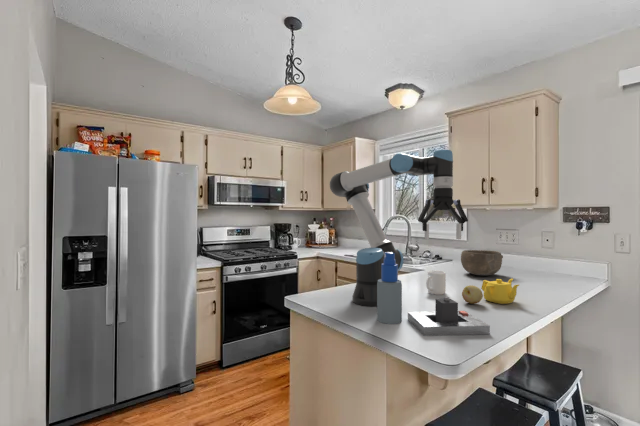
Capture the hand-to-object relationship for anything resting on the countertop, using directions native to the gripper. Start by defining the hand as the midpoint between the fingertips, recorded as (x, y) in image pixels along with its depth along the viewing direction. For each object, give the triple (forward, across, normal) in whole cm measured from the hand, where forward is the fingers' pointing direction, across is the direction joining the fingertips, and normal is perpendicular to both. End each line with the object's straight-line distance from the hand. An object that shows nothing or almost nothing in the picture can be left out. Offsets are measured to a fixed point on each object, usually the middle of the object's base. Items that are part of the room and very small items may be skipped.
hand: (442, 239), depth 137 cm
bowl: (+29, +56, +69) cm, 93 cm away
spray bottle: (+29, -26, -13) cm, 41 cm away
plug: (+29, -8, -21) cm, 37 cm away
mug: (+29, +7, +25) cm, 39 cm away
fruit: (+29, +16, +6) cm, 34 cm away
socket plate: (+29, -8, -21) cm, 36 cm away
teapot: (+29, +31, +9) cm, 43 cm away
